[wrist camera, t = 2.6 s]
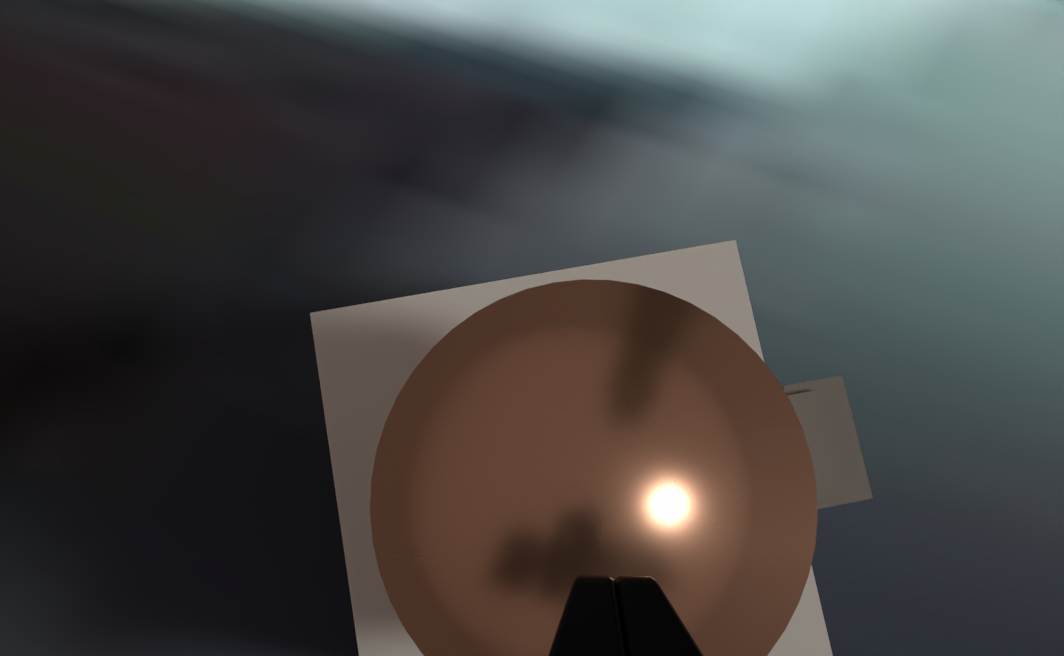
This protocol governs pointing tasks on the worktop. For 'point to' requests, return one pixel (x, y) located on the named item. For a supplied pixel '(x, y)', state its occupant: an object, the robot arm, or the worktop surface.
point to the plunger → (591, 474)
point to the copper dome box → (423, 320)
